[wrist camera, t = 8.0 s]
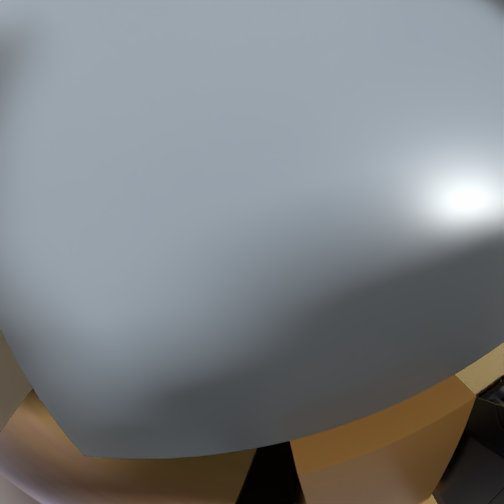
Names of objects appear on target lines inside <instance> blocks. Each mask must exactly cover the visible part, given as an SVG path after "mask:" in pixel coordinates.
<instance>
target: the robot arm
mask: <svg viewBox="0 0 504 504" xmlns="http://www.w3.org/2000/svg"><path fill="white" fill-rule="evenodd" d="M432 494H433V496H434V498H435V500H436V501H437V503H438V504H504V380H502V381H501V382H500V383H498V384H497V385H496V386H495V387H493V388H492V389H491V390H489V391H488V392H487V393H485V394H484V395H482V396H481V397H480V398H478V397H476V399H475V402H474V404H473V407H472V410H471V413H470V416H469V418H468V421H467V423H466V426H465V428H464V431H463V433H462V436H461V438H460V440H459V443H458V445H457V447H456V449H455V451H454V453H453V456H452V458H451V460H450V462H449V464H448V466H447V468H446V470H445V471H444V473H443V475H442V477H441V479H440V481H439V482H438V484H437V486H436V488H435V489H434V491H433V493H432ZM235 504H305V496H304V493H303V490H302V487H301V483H300V480H299V477H298V474H297V469H296V465H295V461H294V457H293V453H292V449H291V444H290V441H287V442H282V443H278V444H274V445H269V446H264V447H259V448H257V449H256V452H255V455H254V457H253V460H252V463H251V465H250V468H249V471H248V473H247V476H246V478H245V481H244V483H243V486H242V488H241V491H240V493H239V496H238V498H237V500H236V503H235Z"/></svg>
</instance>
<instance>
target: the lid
mask: <svg viewBox="0 0 504 504" xmlns="http://www.w3.org/2000/svg"><path fill="white" fill-rule="evenodd" d="M0 329H1V331H2V334H3V336H4V338H5V340H6V342H7V344H8V346H9V348H10V350H11V352H12V353H13V355H14V357H15V359H16V361H17V363H18V364H19V366H20V368H21V370H22V371H23V373H24V375H25V377H26V378H27V380H28V382H29V383H30V385H31V386H32V388H33V390H34V391H35V393H36V394H37V396H38V397H39V399H40V400H41V402H42V403H43V405H44V406H45V407H46V409H47V410H48V412H49V413H50V414H51V416H52V417H53V419H54V420H55V421H56V423H57V424H58V425H59V426H60V428H61V429H62V430H63V432H64V433H65V434H66V435H67V437H68V438H69V439H70V440H71V441H72V443H73V444H74V445H75V446H76V447H77V448H78V450H79V451H80V452H81V453H82V454H83V455H84V456H89V457H101V458H118V459H166V458H184V457H196V456H206V455H215V454H223V453H230V452H236V451H243V450H248V449H254V448H259V447H264V446H269V445H274V444H278V443H282V442H287V441H290V444H291V449H292V453H293V457H294V461H295V465H296V469H297V474H298V477H299V480H300V483H301V487H302V490H303V493H304V496H305V499H306V502H307V504H426V503H427V501H428V499H429V498H430V496H431V494H432V493H433V491H434V489H435V488H436V486H437V484H438V482H439V481H440V479H441V477H442V475H443V473H444V471H445V470H446V468H447V466H448V464H449V462H450V460H451V458H452V456H453V453H454V451H455V449H456V447H457V445H458V443H459V440H460V438H461V436H462V433H463V431H464V428H465V426H466V423H467V421H468V418H469V416H470V413H471V410H472V407H473V404H474V402H475V399H476V395H475V394H474V393H473V392H472V391H471V390H470V389H469V388H468V387H467V386H466V385H465V384H464V383H463V382H462V381H461V380H460V379H459V378H458V377H456V376H455V375H454V374H456V373H457V372H459V371H461V370H462V369H464V368H466V367H467V366H469V365H471V364H472V363H474V362H475V361H477V360H478V359H480V358H481V357H483V356H484V355H486V354H487V353H489V352H490V351H492V350H493V349H494V348H496V347H497V346H499V345H500V344H501V343H503V342H504V0H0Z"/></svg>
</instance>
